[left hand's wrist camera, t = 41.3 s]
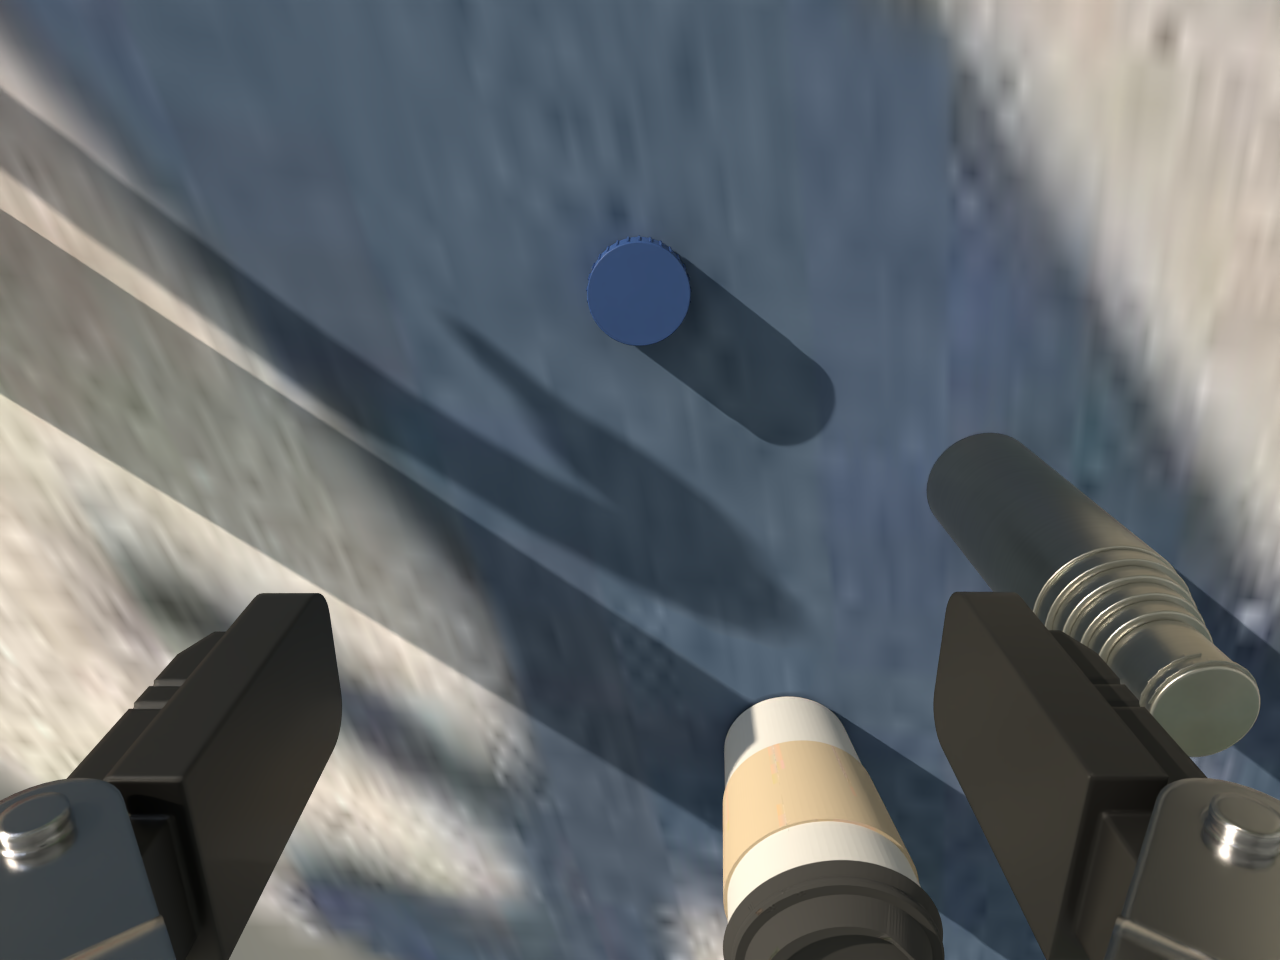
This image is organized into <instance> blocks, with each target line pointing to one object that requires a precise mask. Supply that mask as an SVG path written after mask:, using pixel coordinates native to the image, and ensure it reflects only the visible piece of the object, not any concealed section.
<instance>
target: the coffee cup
mask: <svg viewBox="0 0 1280 960" xmlns="http://www.w3.org/2000/svg"><path fill="white" fill-rule="evenodd" d="M724 760H725V792H724V797H723V901H724V909H725V913H726V917H727V919H728V925H727V927H726V931H725V935H724V941H723V955H724V960H944V947H943V943H942V942H943V928H942V922H941V918H940V915H939V912H938V910H937V908H936V906H935V904H934V903H933V901H932V900H931V898H930V897H929V896H928V894H927V893H926V892H925V891H924V890H923V889H922V888H921V886H920V884H919V879H918V874H917V871H916V868H915V865H914V863H913V861H912V859H911V857H910V855H909V853H908V851H907V849H906V847H905V845H904V843H903V841H902V839H901V837H900V835H899V833H898V831H897V829H896V827H895V825H894V823H893V821H892V819H891V817H890V815H889V813H888V811H887V809H886V807H885V805H884V804H883V802H882V800H881V798H880V796H879V794H878V792H877V790H876V788H875V786H874V784H873V782H872V780H871V778H870V776H869V774H868V772H867V771H866V769H865V768H864V767H863V766H862V764H861V762H860V760H859V758H858V755H857V753H856V751H855V749H854V747H853V745H852V743H851V741H850V739H849V737H848V735H847V733H846V731H845V728H844V727H843V725H842V723H841V721H840V720H839V719H838V718H837V716H836V715H835V714H834V713H833V712H831V711H830V710H829V709H828V708H826V707H825V706H823V705H821V704H819V703H817V702H815V701H812V700H809V699H805V698H800V697H777V698H772V699H768V700H765V701H762V702H760V703H757V704H755V705H753V706H752V707H750V708H749V709H747V710H746V711H744V712H743V713H742V714H741V715H740V716H739V717H738V718H737V719H736V720H735V721H734V723H733V724H732V726H731V727H730V729H729V731H728V734H727V736H726V740H725V746H724Z"/></svg>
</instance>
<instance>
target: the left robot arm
mask: <svg viewBox="0 0 1280 960" xmlns="http://www.w3.org/2000/svg"><path fill="white" fill-rule="evenodd" d="M341 717H342V697H341V689H340V682H339V675H338V668H337V661H336V655H335V648H334V641H333V634H332V627H331V620H330V613H329V608H328V605H327V602H326V600H325V598H324V596H323V595H321V594H319V593H262V594H259V595H257V596H256V597H255V598H254V599H253V600H252V601H251V603H250V604H249V605H248V606H247V607H246V609H245V610H244V611H243V612H242V613H241V615H240V616H239V617H238V618H237V619H236V620H235V622H234V623H233V624H232V625H231V626H230V628H229V629H228V630H227V631H226V632H213V633H211V634H210V635H208V636H207V637H205V638H203V639H202V640H200V641H199V642H197V643H195V644H194V645H192V646H190V647H189V648H187V649H186V650H184V651H182V652H181V653H179V654H177V656H176V657H175V658H174V659H173V660H172V661H171V662H170V663H169V665H168V666H167V667H166V668H165V669H164V670H163V671H162V672H161V674H160V675H159V676H158V677H157V678H156V679H155V680H154V686H149V687H148V688H147V689H146V690H145V691H144V693H143V694H142V695H141V696H140V697H139V698H138V699H137V700H136V702H135V703H134V708H133V709H128V711H127V712H126V713H125V714H124V715H123V716H122V717H121V718H120V719H119V721H118V722H117V723H116V724H115V725H114V726H113V727H112V728H111V730H110V731H109V732H108V733H107V734H106V735H105V736H104V737H103V739H102V740H101V741H100V742H99V743H98V744H97V745H96V746H95V748H94V749H93V750H92V751H91V752H90V753H89V754H88V755H87V757H86V758H85V759H84V760H83V761H82V762H81V763H80V764H79V765H78V767H77V768H76V769H75V770H74V771H73V772H72V773H71V774H70V776H69V777H68V778H67V779H62V780H57V781H52V782H48V783H43V784H40V785H37V786H34V787H30V788H28V789H25V790H23V791H20V792H18V793H15V794H13V795H11V796H9V797H7V798H5V799H3V800H1V801H0V960H229V958H230V956H231V954H232V952H233V950H234V948H235V946H236V944H237V942H238V940H239V938H240V936H241V934H242V932H243V930H244V928H245V926H246V924H247V922H248V920H249V918H250V916H251V914H252V912H253V910H254V908H255V906H256V904H257V902H258V900H259V898H260V896H261V894H262V892H263V890H264V888H265V886H266V884H267V882H268V880H269V878H270V876H271V874H272V872H273V870H274V868H275V866H276V864H277V862H278V860H279V858H280V856H281V854H282V852H283V850H284V848H285V846H286V844H287V842H288V840H289V838H290V836H291V834H292V832H293V830H294V828H295V826H296V824H297V822H298V820H299V818H300V816H301V814H302V812H303V810H304V808H305V806H306V804H307V802H308V800H309V798H310V796H311V794H312V792H313V790H314V788H315V786H316V784H317V782H318V780H319V778H320V776H321V774H322V772H323V770H324V768H325V766H326V764H327V762H328V760H329V758H330V756H331V754H332V752H333V750H334V747H335V745H336V742H337V739H338V735H339V731H340V726H341ZM934 720H935V727H936V732H937V736H938V739H939V742H940V745H941V747H942V749H943V751H944V753H945V755H946V757H947V759H948V761H949V763H950V765H951V767H952V769H953V771H954V773H955V775H956V777H957V779H958V781H959V783H960V785H961V788H962V790H963V792H964V794H965V796H966V798H967V800H968V802H969V804H970V806H971V808H972V810H973V812H974V814H975V816H976V818H977V820H978V822H979V824H980V826H981V828H982V830H983V832H984V834H985V836H986V838H987V840H988V842H989V844H990V846H991V848H992V850H993V852H994V854H995V856H996V858H997V860H998V863H999V865H1000V867H1001V869H1002V871H1003V873H1004V875H1005V877H1006V879H1007V881H1008V883H1009V885H1010V887H1011V889H1012V891H1013V893H1014V895H1015V897H1016V899H1017V901H1018V903H1019V905H1020V907H1021V909H1022V911H1023V913H1024V915H1025V917H1026V919H1027V921H1028V923H1029V925H1030V927H1031V929H1032V931H1033V933H1034V936H1035V938H1036V940H1037V942H1038V944H1039V946H1040V948H1041V950H1042V952H1043V954H1044V956H1045V958H1046V960H1280V801H1279V800H1277V799H1275V798H1273V797H1271V796H1269V795H1267V794H1265V793H1262V792H1260V791H1257V790H1255V789H1252V788H1250V787H1246V786H1243V785H1240V784H1237V783H1232V782H1228V781H1223V780H1218V779H1210V778H1207V777H1206V776H1205V775H1204V773H1203V772H1202V771H1201V770H1200V769H1199V768H1198V767H1197V766H1196V764H1195V763H1194V762H1193V761H1192V760H1191V759H1190V758H1189V756H1188V755H1187V754H1186V753H1185V752H1184V751H1183V750H1182V749H1181V747H1180V746H1179V745H1178V744H1177V743H1176V742H1175V741H1174V740H1173V738H1172V737H1171V736H1170V735H1169V734H1168V733H1167V732H1166V730H1165V729H1164V728H1163V727H1162V726H1161V725H1160V724H1159V723H1158V721H1157V720H1156V719H1155V718H1154V717H1153V716H1152V715H1151V713H1150V712H1149V711H1148V710H1147V709H1146V708H1145V707H1140V704H1139V700H1138V699H1137V698H1136V697H1135V695H1134V694H1133V693H1132V692H1131V691H1130V690H1129V689H1128V687H1127V686H1126V685H1125V684H1120V678H1119V677H1118V676H1117V675H1116V674H1115V673H1114V672H1113V670H1112V669H1111V668H1110V667H1109V666H1108V665H1107V664H1106V663H1105V661H1104V660H1103V659H1102V658H1101V657H1100V656H1099V655H1098V653H1096V652H1095V651H1093V650H1092V649H1090V648H1088V647H1087V646H1085V645H1084V644H1082V643H1080V642H1079V641H1077V640H1075V639H1074V638H1072V637H1071V636H1069V635H1067V634H1066V633H1064V632H1062V631H1061V630H1048V629H1047V628H1046V627H1045V626H1044V624H1043V623H1042V622H1041V621H1040V620H1039V618H1038V617H1037V616H1036V615H1035V613H1034V612H1033V611H1032V610H1031V609H1030V607H1029V606H1028V605H1027V604H1026V603H1025V601H1024V600H1023V599H1022V598H1021V597H1020V596H1019V595H1018V594H1017V593H1015V592H955V593H953V594H952V595H951V597H950V599H949V601H948V604H947V608H946V614H945V621H944V628H943V635H942V642H941V649H940V656H939V663H938V670H937V677H936V684H935V691H934Z"/></svg>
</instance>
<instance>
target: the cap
mask: <svg viewBox="0 0 1280 960" xmlns="http://www.w3.org/2000/svg"><path fill="white" fill-rule="evenodd" d="M592 269H593V270H592V273H590V275H589V277H588V280H589V283H588V286H587V289H586V291H587V298H588V300H587V303H588V305H589V309H590V313H591V314H592V316H593V319H594V320H595V322H596V323H597V325H598V326H599V327H600V329H601V330H602V331H603V332H604V333H606V334H607V335H608V336H609V337H611V338H612V339H614V340H616V341H618V342H621V343H623V344H627V345H633V346H645V345H651V344H654V343H657V342H659V341H662V340H664V339H665V338H667V337H668V336H670V335H671V334H672V333H673V332H674V331H675V330H676V329H677V328H678V327H679V326H680V324H681V323H682V322H683V320H684V318H685V316H686V314H687V311H688V308H689V304H690V302H691V301H690V292H691V287H690V284H689V281H690V278H689V275H688V274H687V273H686V267H685V264H684V263H683V264H682V262H681V260H680V258H679V255H678V254H677V255H676V253H675V252H674V251H673V250H672V249H671V247H670V246H669V247H668V246H666V245H665V244H663V243H662V241H657V240H654V239H651V237H649V238H646V237H640V236H638V237H632V238H629V237H627V239H624V240H621V241H618V240H617V242H616V243H615V244H613V245H611V246H610V247H609V246H608V247H607V249H606V250H605V251H604V252H603V253H602V254H600V255H599V257H598V260H597V261H596V263H594V264H593V267H592Z"/></svg>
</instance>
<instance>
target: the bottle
mask: <svg viewBox="0 0 1280 960" xmlns="http://www.w3.org/2000/svg"><path fill="white" fill-rule="evenodd" d="M927 499H928V503H929V506H930V509H931V511H932V513H933V514H934V516H935V517H936V518H937V520H938V521H939V522H940V524H941V525H942V526H943V527H944V529H945V530H946V531H947V533H948V534H949V535H950V536H951V538H952V539H953V540H954V542H955V543H956V544H957V546H958V547H959V548H960V549H961V551H962V552H963V553H964V555H965V556H966V557H967V558H968V560H969V561H970V562H971V564H972V565H973V566H974V567H975V569H976V570H977V571H978V573H979V574H980V575H981V577H982V578H983V579H984V580H985V582H986V583H987V584H988V586H989V587H990V588H991V589H992V591H993V592H1015V593H1017V594H1018V595H1019V596H1020V597H1021V598H1022V599H1023V600H1024V601H1025V603H1026V604H1027V605H1028V606H1029V607H1030V609H1031V610H1032V611H1033V612H1034V613H1035V615H1036V616H1037V617H1038V618H1039V620H1040V621H1041V622H1042V623H1043V624H1044V626H1045V627H1046V628H1047V629H1048V630H1061V631H1062V632H1064V633H1066V634H1067V635H1069V636H1071V637H1072V638H1074V639H1075V640H1077V641H1079V642H1080V643H1082V644H1084V645H1085V646H1087V647H1088V648H1090V649H1092V650H1093V651H1095V652H1096V653H1098V655H1099V656H1100V657H1101V658H1102V659H1103V660H1104V661H1105V663H1106V664H1107V665H1108V666H1109V667H1110V668H1111V669H1112V670H1113V672H1114V673H1115V674H1116V675H1117V676H1118V677H1119V678H1120V684H1125V685H1126V686H1127V687H1128V689H1129V690H1130V691H1131V692H1132V693H1133V694H1134V695H1135V697H1136V698H1137V699H1138V700H1139V704H1140V707H1145V708H1146V709H1147V710H1148V711H1149V712H1150V713H1151V715H1152V716H1153V717H1154V718H1155V719H1156V720H1157V721H1158V723H1159V724H1160V725H1161V726H1162V727H1163V728H1164V729H1165V730H1166V732H1167V733H1168V734H1169V735H1170V736H1171V737H1172V738H1173V740H1174V741H1175V742H1176V743H1177V744H1178V745H1179V746H1180V747H1181V749H1182V750H1183V751H1184V752H1185V753H1186V754H1187V755H1188V756H1189V757H1202V756H1208V755H1212V754H1215V753H1218V752H1220V751H1223V750H1225V749H1227V748H1229V747H1230V746H1232V745H1234V744H1235V743H1237V742H1238V741H1239V740H1240V739H1242V738H1243V737H1244V736H1245V735H1246V734H1247V733H1248V732H1249V730H1250V729H1251V728H1252V726H1253V725H1254V723H1255V721H1256V719H1257V717H1258V714H1259V710H1260V703H1261V702H1260V694H1259V689H1258V686H1257V683H1256V680H1255V679H1254V677H1253V676H1252V675H1251V674H1250V672H1249V671H1248V670H1247V669H1245V668H1244V667H1242V666H1241V665H1239V664H1237V663H1236V662H1233V661H1232V660H1230V659H1229V658H1228V657H1227V656H1226V655H1225V654H1224V653H1223V652H1221V651H1220V650H1219V649H1218V648H1217V647H1216V646H1215V645H1214V644H1213V640H1212V637H1211V635H1210V632H1209V631H1208V629H1207V628H1206V626H1205V623H1204V620H1203V618H1202V616H1201V614H1200V613H1199V611H1198V609H1197V606H1196V604H1195V602H1194V600H1193V598H1192V597H1191V593H1190V591H1189V589H1188V586H1187V585H1186V583H1185V582H1184V580H1183V579H1182V578H1181V577H1180V576H1179V575H1178V574H1177V572H1176V571H1175V569H1174V568H1173V567H1172V566H1171V565H1170V563H1169V562H1168V561H1167V560H1165V559H1164V558H1163V557H1162V556H1160V555H1159V554H1158V553H1157V552H1155V551H1154V550H1153V549H1152V548H1150V547H1149V546H1148V545H1147V544H1145V543H1144V542H1143V541H1142V540H1141V539H1139V538H1138V537H1137V536H1136V535H1134V534H1133V533H1132V532H1131V531H1129V530H1128V529H1127V528H1126V527H1124V526H1123V525H1122V524H1121V523H1119V522H1118V521H1117V520H1116V519H1114V518H1113V517H1112V516H1111V515H1110V514H1108V513H1107V512H1106V511H1105V510H1103V509H1102V508H1101V507H1100V506H1098V505H1097V504H1096V503H1095V502H1093V501H1092V500H1091V499H1090V498H1088V497H1087V496H1086V495H1085V494H1084V493H1082V492H1081V491H1080V490H1079V489H1077V488H1076V487H1075V486H1074V485H1072V484H1071V483H1070V482H1069V481H1067V480H1066V479H1065V478H1064V477H1062V476H1061V475H1060V474H1059V473H1057V472H1056V471H1055V470H1054V469H1053V468H1051V467H1050V466H1049V465H1048V464H1046V463H1045V462H1044V461H1043V460H1041V459H1040V458H1039V457H1038V456H1036V455H1035V454H1034V453H1033V452H1031V451H1030V450H1029V449H1028V448H1027V447H1025V446H1024V445H1023V444H1021V443H1020V442H1019V441H1017V440H1015V439H1014V438H1012V437H1009V436H1006V435H1002V434H997V433H983V434H976V435H973V436H969V437H967V438H964V439H962V440H960V441H958V442H956V443H955V444H953V445H952V446H951V447H949V448H948V449H947V450H946V451H945V452H944V453H943V454H942V455H941V456H940V457H939V458H938V460H937V461H936V463H935V464H934V466H933V468H932V470H931V473H930V475H929V479H928V483H927Z"/></svg>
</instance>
